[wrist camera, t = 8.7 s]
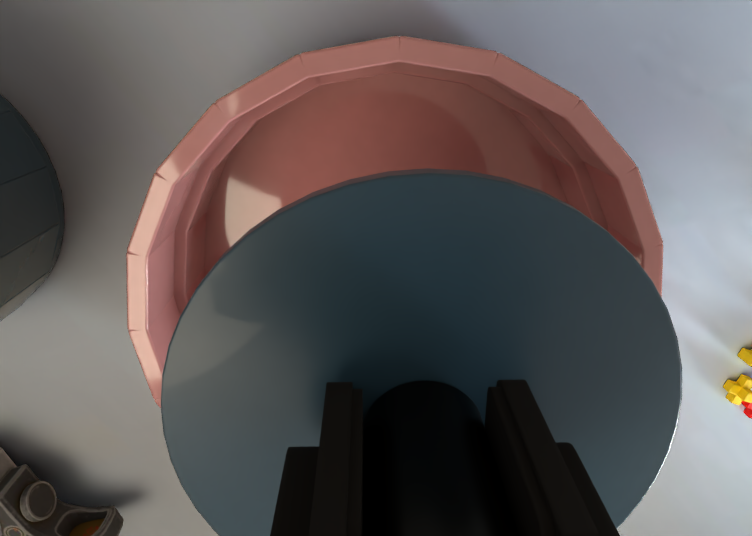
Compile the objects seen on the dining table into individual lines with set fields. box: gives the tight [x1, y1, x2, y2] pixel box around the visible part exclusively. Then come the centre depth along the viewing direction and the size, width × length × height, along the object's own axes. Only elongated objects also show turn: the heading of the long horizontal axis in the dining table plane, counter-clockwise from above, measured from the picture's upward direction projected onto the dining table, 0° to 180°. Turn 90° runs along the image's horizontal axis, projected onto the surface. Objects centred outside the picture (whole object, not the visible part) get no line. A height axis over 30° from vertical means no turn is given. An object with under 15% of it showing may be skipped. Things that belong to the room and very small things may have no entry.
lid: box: [161, 168, 682, 536], centre depth 10 cm, size 11×11×6 cm
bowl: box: [126, 36, 663, 408], centre depth 19 cm, size 16×16×6 cm
